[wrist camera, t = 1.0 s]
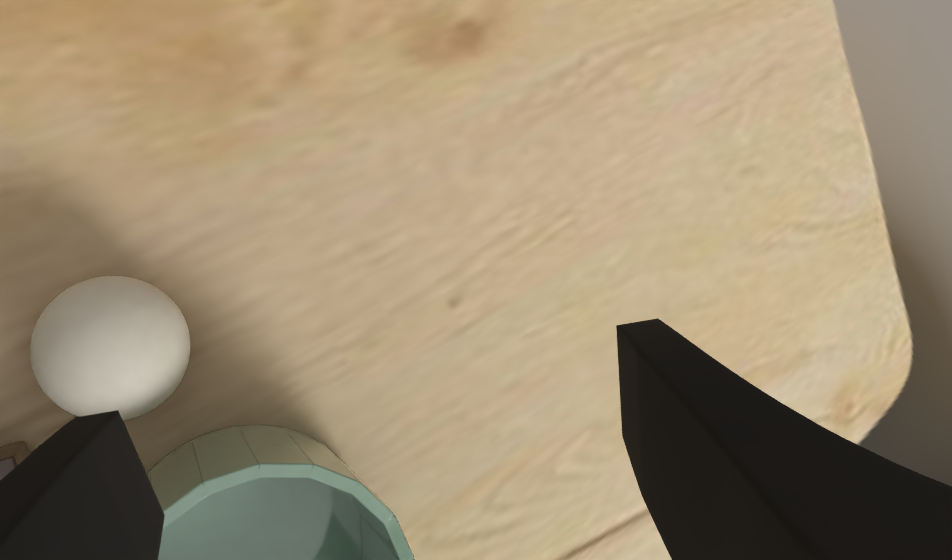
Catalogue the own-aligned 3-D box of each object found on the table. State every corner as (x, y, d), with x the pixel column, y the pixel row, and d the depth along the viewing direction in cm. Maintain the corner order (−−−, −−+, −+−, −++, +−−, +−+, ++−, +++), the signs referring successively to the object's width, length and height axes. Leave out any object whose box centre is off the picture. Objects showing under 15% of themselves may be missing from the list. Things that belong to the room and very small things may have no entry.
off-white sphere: (201, 385, 24) (211, 407, 21) (61, 425, 23) (45, 457, 19) (168, 260, 24) (172, 261, 20) (22, 293, 22) (-2, 300, 19)
